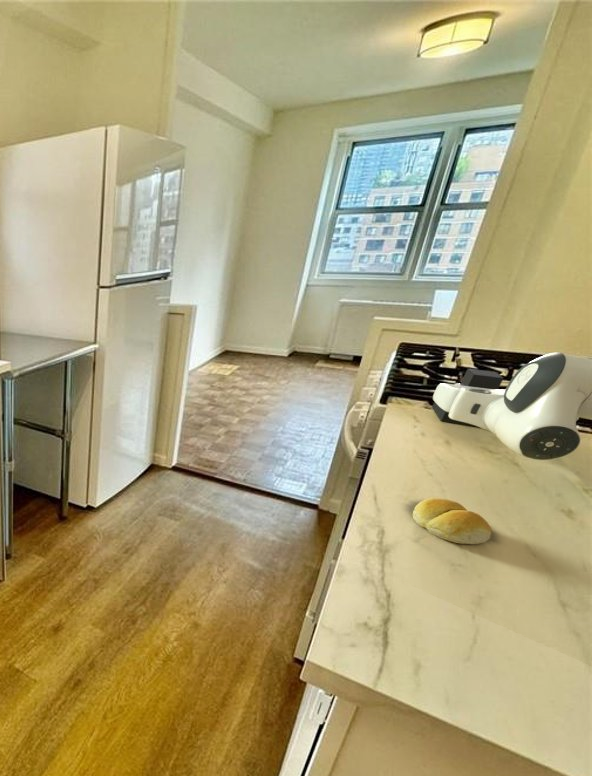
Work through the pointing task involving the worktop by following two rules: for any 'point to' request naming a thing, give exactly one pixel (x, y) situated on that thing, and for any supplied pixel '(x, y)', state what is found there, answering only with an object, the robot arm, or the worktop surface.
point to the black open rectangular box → (445, 418)
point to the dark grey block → (482, 379)
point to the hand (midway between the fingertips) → (485, 390)
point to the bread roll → (451, 521)
